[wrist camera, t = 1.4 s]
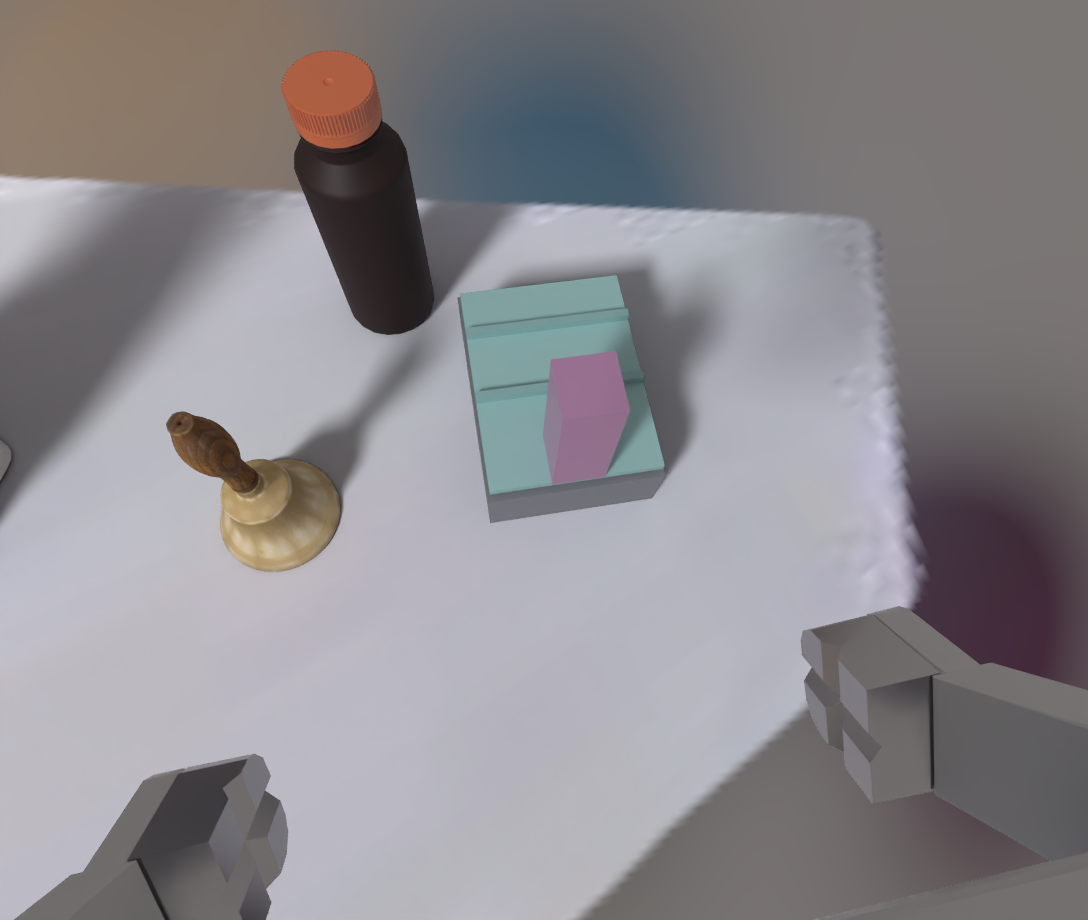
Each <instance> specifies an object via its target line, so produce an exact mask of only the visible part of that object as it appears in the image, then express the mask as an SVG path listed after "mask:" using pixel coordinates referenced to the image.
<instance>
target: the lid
mask: <svg viewBox="0 0 1088 920" xmlns="http://www.w3.org/2000/svg"><path fill="white" fill-rule="evenodd" d="M460 298H461V305H462V312H463V318H464V325H465V332H466V338H467V345H468V352H469V359H470V365H471V372H472V379H473V385H474V392H475V399H476V406H477V412H478V419H479V426H480V432H481V439H482V446H483V453H484V459H485V466H486V473H487V479H488V486H489V493H490V495H491V494H498V493H504V492H511V491H518V490H525V489H531V488H538V487H545V486H551V485H558V484H565V483H572V482H578V481H585V480H592V479H598V478H605V477H612V476H619V475H625V474H632V473H639V472H645V471H652V470H659V469H663V468H664V466H665V465H664V461H663V457H662V453H661V449H660V445H659V441H658V437H657V433H656V429H655V425H654V421H653V417H652V413H651V409H650V405H649V401H648V397H647V393H646V389H645V385H644V379H645V375H644V371H643V370H641V369H640V365H639V361H638V357H637V353H636V350H635V346H634V342H633V338H632V334H631V330H630V326H629V322H628V318H629V312H628V308H625V306H624V302H623V298H622V294H621V290H620V286H619V282H618V278H617V275H614V276H605V277H597V278H589V279H580V280H572V281H563V282H555V283H546V284H538V285H529V286H521V287H512V288H504V289H495V290H487V291H478V292H470V293H461V294H460Z"/></svg>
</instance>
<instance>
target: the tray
mask: <svg viewBox="0 0 1088 920" xmlns="http://www.w3.org/2000/svg"><path fill="white" fill-rule="evenodd" d="M458 304H459V312H460V319H461V326H462V333H463V340H464V347H465V354H466V361H467V367H468V374H469V381H470V388H471V395H472V401H473V408H474V415H475V422H476V429H477V435H478V442H479V449H480V456H481V463H482V470H483V476H484V483H485V490H486V497H487V504H488V510H489V517H490V523H493V522H499V521H506V520H512V519H519V518H525V517H532V516H538V515H545V514H551V513H558V512H564V511H571V510H577V509H584V508H591V507H597V506H604V505H610V504H617V503H623V502H630V501H636V500H643V499H649V498H652V497H653V496H654V494H655V492H656V491H657V489H658V488H659V486H660V485H661V483H662V481H663V480H664V478H665V477H666V475H665V471H664V468H663V469H659V470H652V471H645V472H639V473H632V474H625V475H619V476H612V477H605V478H598V479H592V480H585V481H578V482H572V483H565V484H558V485H551V486H545V487H538V488H531V489H525V490H518V491H511V492H504V493H498V494H491V495H490V493H489V486H488V479H487V473H486V466H485V459H484V453H483V446H482V439H481V432H480V426H479V419H478V412H477V406H476V399H475V392H474V385H473V379H472V372H471V365H470V359H469V352H468V345H467V338H466V332H465V325H464V318H463V312H462V305H461V298H460V297H458Z"/></svg>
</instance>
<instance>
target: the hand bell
mask: <svg viewBox="0 0 1088 920" xmlns="http://www.w3.org/2000/svg"><path fill="white" fill-rule="evenodd" d="M166 426H167V429H168V431H169V433H170V435H171V438H172V442H173V445H174V447H175V450H176V452H177V453H178V455H179V456H180V457H181V459H182V460H183V461H184V462H185V463H187V464H188V465H189V466H190V467H192V468H193V469H195V470H197V471H198V472H200V473H203V474H205V475H208V476H212V477H219V478H222V479H223V480H224V483H223V485H222V488H221V495H220V497H221V504H222V506H223V507H222V511H221V519H220V526H221V534H222V537H223V540H224V542H225V544H226V546H227V548H228V550H229V551H230V552H231V554H232V555H233V556H234V557H235V558H236V559H238V560H239V561H240V562H242V563H243V564H245V565H247V566H249V567H251V568H254V569H257V570H261V571H268V572H273V571H275V572H278V571H285V570H289V569H293V568H296V567H298V566H301V565H303V564H305V563H306V562H308V561H310V560H311V559H313V558H314V557H316V556H317V555H318V554H319V553H320V552H321V551H322V550H323V549H324V548H325V547H326V546H327V545H328V543H329V542H330V540H331V539H332V537H333V535H334V533H335V531H336V528H337V525H338V522H339V517H340V500H339V495H338V492H337V490H336V488H335V486H334V484H333V482H332V481H331V479H330V478H329V477H328V476H327V475H326V474H325V473H324V472H323V471H322V470H320V469H319V468H317V467H316V466H314V465H312V464H309V463H306V462H303V461H299V460H290V459H285V460H276V461H269V460H265V459H257V460H251V461H247V462H244V461H243V460H242V459H241V457H240V452H239V448H238V446H237V444H236V442H235V441H234V439H233V438H232V437H231V435H230V434H229V433H228V432H227V431H226V430H225V429H224V428H223V427H221V426H220V425H219V424H217V423H216V422H214V421H212V420H209V419H206V418H203V417H199V416H194V415H191V414H190V413H187V412H177V413H174V414H172V416H171V417H170V418H169V420H168V422H167V424H166Z"/></svg>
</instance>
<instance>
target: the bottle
mask: <svg viewBox="0 0 1088 920" xmlns="http://www.w3.org/2000/svg"><path fill="white" fill-rule="evenodd" d="M282 85H283V86H282V91H283V95H284V98H285V101H286V103H287V106H288V109H289V111H290V114H291V116H292V119H293V122H294V124H295V126H296V128H297V131H298V133H299V134H300V137H301V139H300V141H299V144H298V146H297V148H296V150H295V154H294V156H295V157H294V169H295V172H296V175H297V177H298V180H299V182H300V184H301V187H302V190H303V192H304V194H305V197H306V199H307V202H308V204H309V207H310V209H311V212H312V214H313V217H314V219H315V222H316V224H317V227H318V229H319V232H320V234H321V237H322V239H323V242H324V244H325V247H326V249H327V251H328V254H329V256H330V259H331V261H332V264H333V266H334V269H335V271H336V274H337V276H338V279H339V281H340V284H341V286H342V289H343V291H344V294H345V296H346V299H347V301H348V304H349V306H350V308H351V311H352V313H353V315H354V317H355V318H356V319H357V320H358V321H359V322H360V324H361V325H362V326H363V327H365V328H367V329H369V330H371V331H373V332H375V333H380V334H386V335H391V334H401V333H404V332H407V331H409V330H412V329H414V328H415V327H417V326H418V325H419V324H421V323H422V322H423V321H424V320H425V319H426V317H427V316H428V314H429V313H430V311H431V308H432V304H433V301H434V296H433V287H432V282H431V276H430V271H429V266H428V261H427V256H426V250H425V245H424V240H423V235H422V229H421V224H420V219H419V214H418V209H417V203H416V198H415V193H414V188H413V182H412V177H411V172H410V167H409V162H408V156H407V151H406V148H405V146H404V144H403V142H402V140H401V138H400V137H399V135H398V133H396V132H395V131H394V130H393V129H392V128H391V127H390V126H389V125H388V124H386V123H385V122H382V112H381V104H380V100H379V95H378V92H377V87H376V82H375V77H374V74H373V72H372V70H371V69H370V67H368V65H367V64H366V63H365V62H363V60H360V58H358V57H357V56H356V57H355V56H354V55H351V54H348V53H345V52H339V51H321V52H317V53H313V54H310V55H307V56H305V57H303V58H301V59H300V60H298V61H296V62H295V63H294V64H293V65H292V66H291V67H290V68H289V69H288V71H287V72H286V75H285V77H284V78H283V83H282Z"/></svg>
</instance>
